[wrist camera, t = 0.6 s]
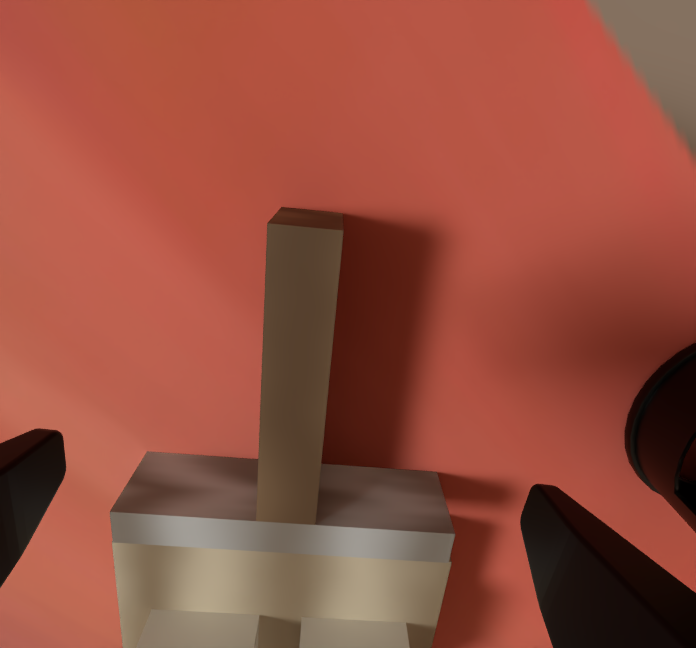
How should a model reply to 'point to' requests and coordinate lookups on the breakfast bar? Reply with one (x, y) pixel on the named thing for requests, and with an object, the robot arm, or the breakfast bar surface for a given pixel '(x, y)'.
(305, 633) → the tile
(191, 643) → the tile
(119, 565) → the deck
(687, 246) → the breakfast bar surface
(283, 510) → the scraper
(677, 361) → the french press
